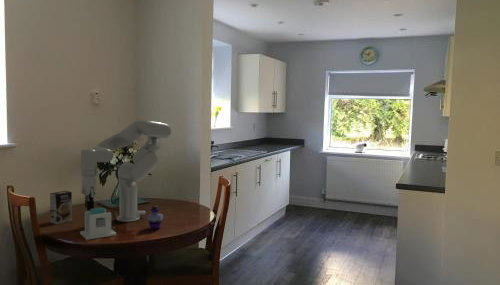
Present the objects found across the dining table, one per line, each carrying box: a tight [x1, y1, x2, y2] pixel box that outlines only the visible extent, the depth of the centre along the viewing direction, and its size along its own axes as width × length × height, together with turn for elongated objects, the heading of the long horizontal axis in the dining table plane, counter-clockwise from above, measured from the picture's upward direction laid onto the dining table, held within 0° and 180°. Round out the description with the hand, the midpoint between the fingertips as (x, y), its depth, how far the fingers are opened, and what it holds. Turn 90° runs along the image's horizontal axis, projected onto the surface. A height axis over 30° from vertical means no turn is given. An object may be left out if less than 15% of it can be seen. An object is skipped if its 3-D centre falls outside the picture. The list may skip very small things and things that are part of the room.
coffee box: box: [49, 190, 73, 225], centre depth 219 cm, size 9×6×16 cm
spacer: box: [91, 206, 106, 215], centre depth 198 cm, size 6×4×4 cm
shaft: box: [85, 194, 104, 226], centre depth 202 cm, size 3×22×12 cm, turn 36°
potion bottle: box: [146, 205, 164, 231], centre depth 209 cm, size 9×9×12 cm
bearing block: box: [79, 208, 117, 241], centre depth 198 cm, size 14×12×11 cm
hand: (89, 207), depth 210 cm, fingers closed on shaft, 3 cm apart
